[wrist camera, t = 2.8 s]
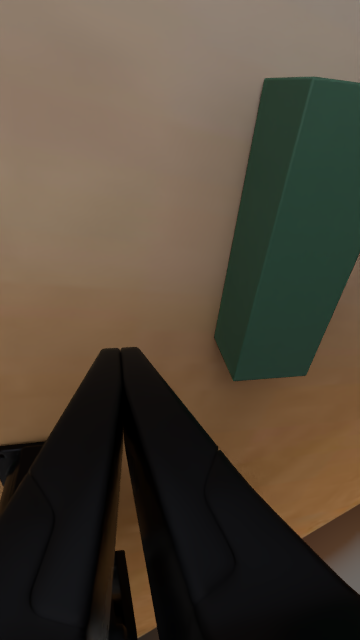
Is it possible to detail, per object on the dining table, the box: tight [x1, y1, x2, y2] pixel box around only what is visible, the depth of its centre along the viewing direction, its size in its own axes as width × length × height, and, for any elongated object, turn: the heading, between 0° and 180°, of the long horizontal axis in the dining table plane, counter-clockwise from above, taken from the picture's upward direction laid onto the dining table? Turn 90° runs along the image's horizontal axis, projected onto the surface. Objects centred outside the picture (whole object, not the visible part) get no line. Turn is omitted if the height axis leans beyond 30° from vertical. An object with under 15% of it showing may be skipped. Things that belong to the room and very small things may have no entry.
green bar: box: [214, 77, 360, 381], centre depth 14 cm, size 12×4×4 cm, turn 175°
